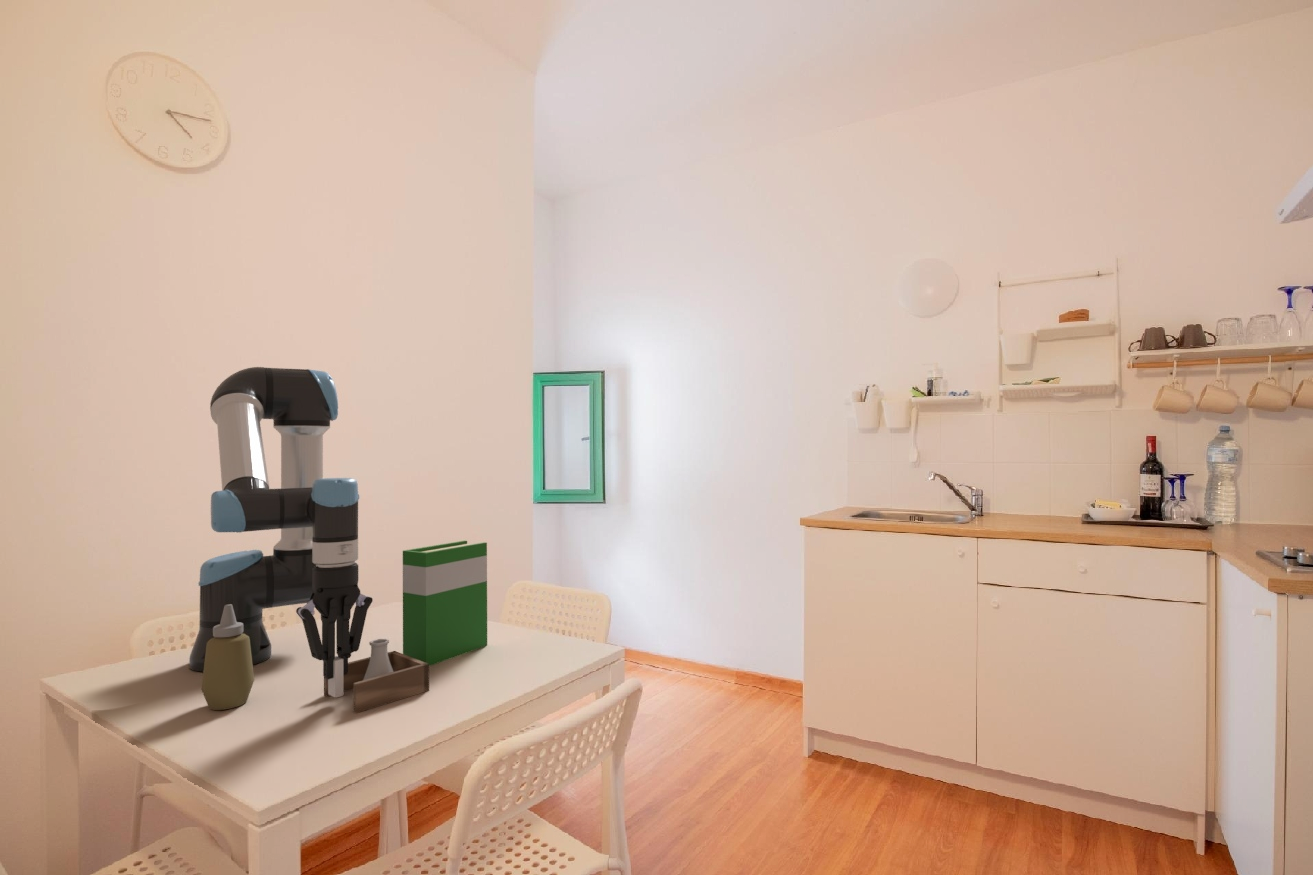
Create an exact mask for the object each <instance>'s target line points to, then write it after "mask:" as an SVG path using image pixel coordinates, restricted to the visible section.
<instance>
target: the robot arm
mask: <svg viewBox="0 0 1313 875" xmlns="http://www.w3.org/2000/svg"><path fill="white" fill-rule="evenodd" d="M209 405H210V407H209V409H210V417H211V419H212V421H213V422H214V423H215V425H217V438H218V450H219V452H218V454H219V465H220V478H221V490H216V491H213V492H212V493H211V495H210V496H211V497H210V526H211V529H212V530H213V531H214V532H216V533H243V532H257V531H269V530H279V529H280V539H279V541H278V542H277V543H276V544H274V546H273V549H272V550H273V551H272V552H273V554H272V555H264V553H263V551H262V550H260V549H252V550H242V551H236V552H235V551H234V552H230V553H226V554H221V555H218V556H215V557H212V558H210V559H207V560H206V561H205V562H203V563H202V564H201V566H200V570H199V581H198V583H197V584H198V587H199V629H198V633H197V636H196V639H195V642H194V644H193V646H192V649H191V651H190V655H189V659H188V660H189V664H188V665H189V666H188V667H189V669H190V670H192V671H196V672H202V673H203V671H204V662H205V654H206V645H207V642H208V641H209V640H210V639H211V638H214V636H213V627H214V626H216V625H219V624H220V622H221V618H222V614H223V610H224V606H225V605H229V604H232V606H233V610H234V614H235V617H236V621H237V622H241V623H243V634H246V635H247V636H249V639H250V647H251V656H252V664H253V666H254V665H256V664H257V665H258V664H260V663H262V662H264V661H266V660H268V659H270V658H271V656H272V643H271V640H270V638H269V637H270V636H268V632H267V630H266V627H265V625H264V622H263V610H264V609H273V608H278V607H285V606H286V607H287V606H294V605H300V604H305V605H303V606H298V607H297V608H296V610H295V612H296V615H297V616H298V617H299V618H300V619H301V620H302V624H303V628H304V632H305V636H306V639H307V644H308V646H309V651H310V655H311V657H312V658H313V659H316V660H318V661H322V663H323V664H322V665H323V666H322V667H323V668H322V672H323V674H322V676H323V679H324V678H326V679H328V694H329V695H331V697H333V698H339V697H342V696H344V692H343V675H346V674H347V673H348V663H349V658H351V657H352V654H353V653H354V652H355V653H356V652H357V651H359V649H360V645H361V640H362V635H363V632H364V626H365V622H366V618H367V614H368V610H369V608H370V606H371V604H372V603H373V602H374V601H373V598H372V597H371V596H367V595H364V594H362V593H361V589H360V588H359V584H358V583H359V564H358V563H357V562H356V561H358V560H359V500H360V494H359V486H358V481H357V480H356V479H355V478H352V477H327V478H326V477H325V478H324V475H323V474H324V472H323V471H324V454H323V453H324V434H325V433H326V432H327V431H328V430H329V429H330V428H331V422H334V421H335V420H337V418H338V415H339V410H338V409H339V401H338V392H337V389H336V385H335V382H334V379H333V377H332V376H331V375H330V373H329V372H326V371H323V370H314V369H310V368H307V369H306V368H305V369H301V368H282V367H280V368H278V367H263V366H254V367H247V368H243V369H240V370H238V371H236V372H235V373H232V374H231V375H229V376H227V378H226V379H224V380H223V381H222V382H220V384H219V385H217V387H216V389H215V391H214V392H213V394H212V396H211V399H210V403H209ZM262 420H273V429H274V430H276V431H277V433H279V434H280V438H281V439H280V448H281V450H280V462H281V463H280V467H281V468H280V472H281V473H280V481H281V482H280V488H270V483H269V476H268V470H267V463H266V456H265V448H264V442H263V436H262V427H261V422H262ZM354 605H355V607H354ZM353 607H354V612H353V614H352V615H353V616H351V613H352V612H351V610H352V608H353ZM315 609H316V611H317V612H318V613H319V614H320V620H321V636H320V632H319V629H318V625H317V620H316V618H315V616H314V615H315V614H316V613H315ZM351 617H352V619H351ZM350 619H351V624H350Z"/></svg>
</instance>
